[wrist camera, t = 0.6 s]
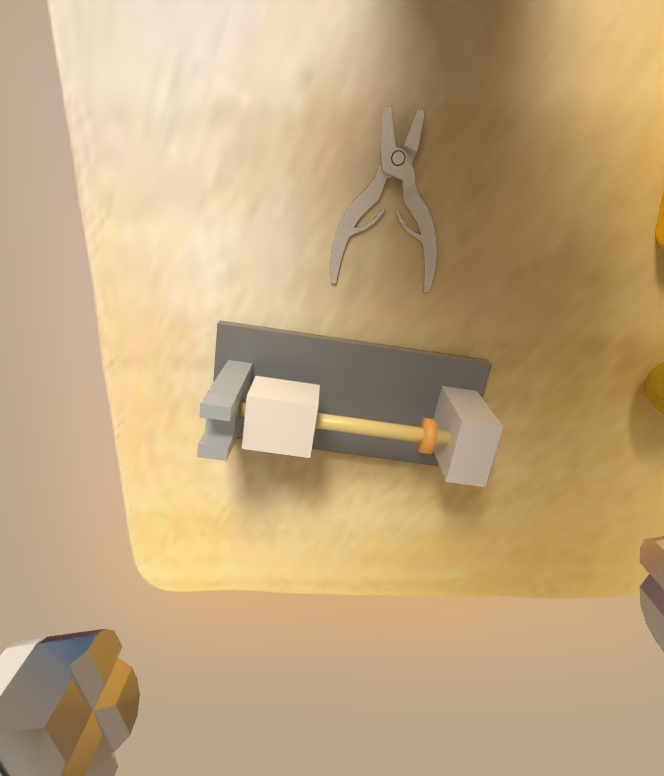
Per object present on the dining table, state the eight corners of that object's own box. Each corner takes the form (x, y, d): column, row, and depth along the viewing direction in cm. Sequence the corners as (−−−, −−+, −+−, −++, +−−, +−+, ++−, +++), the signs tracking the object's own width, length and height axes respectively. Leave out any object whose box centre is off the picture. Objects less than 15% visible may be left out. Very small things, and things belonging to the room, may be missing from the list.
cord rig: (220, 320, 48) (185, 357, 37) (487, 360, 50) (532, 407, 38) (212, 429, 52) (179, 492, 41) (459, 463, 54) (492, 532, 43)
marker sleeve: (255, 375, 46) (246, 395, 41) (319, 384, 46) (318, 405, 41) (250, 424, 47) (241, 448, 43) (312, 432, 48) (310, 457, 43)
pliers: (328, 284, 46) (345, 100, 40) (328, 281, 47) (345, 104, 42) (433, 294, 46) (464, 113, 41) (430, 291, 48) (459, 116, 42)
